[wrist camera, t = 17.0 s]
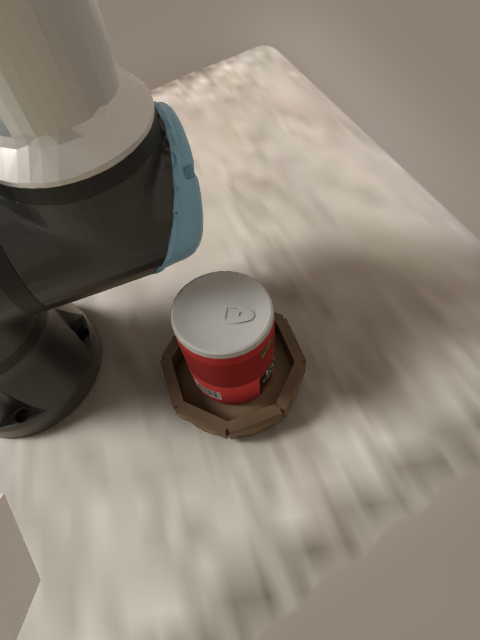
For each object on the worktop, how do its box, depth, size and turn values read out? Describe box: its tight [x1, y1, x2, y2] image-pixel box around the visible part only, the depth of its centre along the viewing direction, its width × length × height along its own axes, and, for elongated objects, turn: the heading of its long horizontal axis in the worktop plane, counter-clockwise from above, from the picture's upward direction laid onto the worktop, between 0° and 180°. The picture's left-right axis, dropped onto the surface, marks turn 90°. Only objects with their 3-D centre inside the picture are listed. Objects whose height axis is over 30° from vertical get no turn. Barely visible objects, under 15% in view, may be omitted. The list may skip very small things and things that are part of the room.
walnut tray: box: [161, 312, 306, 439], centre depth 42 cm, size 13×13×3 cm
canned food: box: [171, 271, 275, 405], centre depth 38 cm, size 8×8×11 cm
